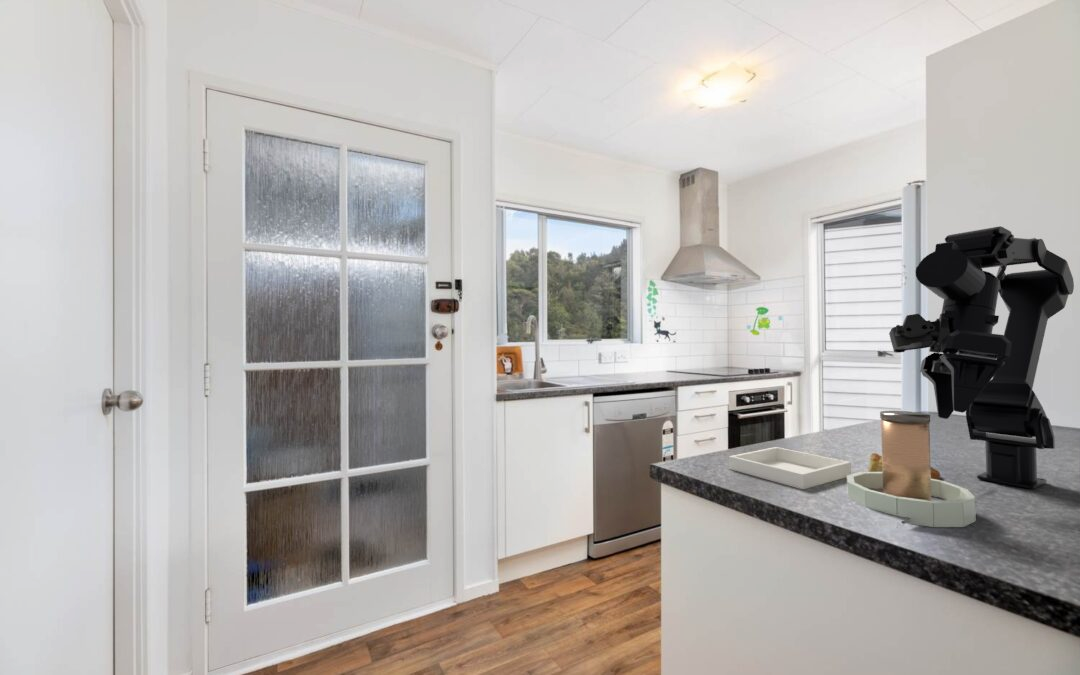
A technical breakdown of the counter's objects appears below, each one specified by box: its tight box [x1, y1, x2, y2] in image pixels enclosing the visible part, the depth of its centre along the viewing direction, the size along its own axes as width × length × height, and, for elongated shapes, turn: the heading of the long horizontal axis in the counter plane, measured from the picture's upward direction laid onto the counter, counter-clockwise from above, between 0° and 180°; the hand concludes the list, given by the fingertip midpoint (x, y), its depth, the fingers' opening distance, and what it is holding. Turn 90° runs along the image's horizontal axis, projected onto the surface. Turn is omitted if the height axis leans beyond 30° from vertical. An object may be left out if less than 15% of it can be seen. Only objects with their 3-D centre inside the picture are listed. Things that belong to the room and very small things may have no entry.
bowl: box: [846, 471, 977, 528], centre depth 63 cm, size 13×13×3 cm
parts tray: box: [728, 446, 852, 490], centre depth 78 cm, size 13×13×3 cm
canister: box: [879, 410, 932, 501], centre depth 63 cm, size 5×5×12 cm
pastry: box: [867, 452, 941, 480], centre depth 76 cm, size 9×7×4 cm
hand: (950, 415), depth 65 cm, fingers open, 9 cm apart
